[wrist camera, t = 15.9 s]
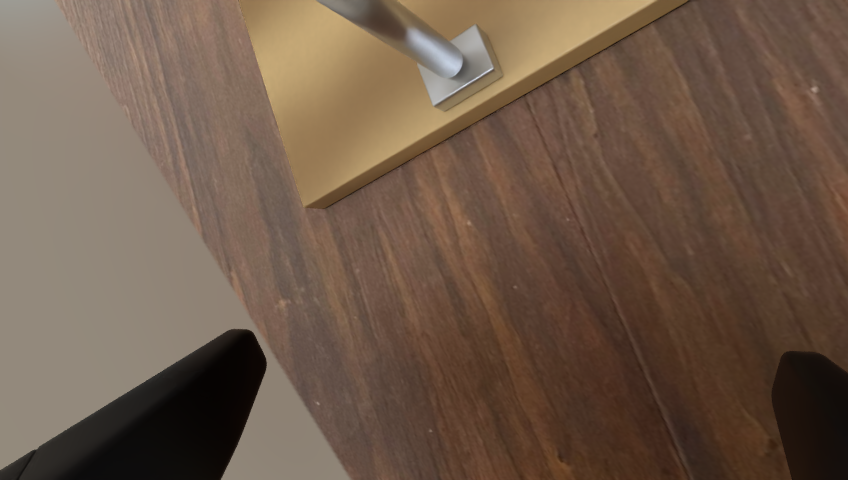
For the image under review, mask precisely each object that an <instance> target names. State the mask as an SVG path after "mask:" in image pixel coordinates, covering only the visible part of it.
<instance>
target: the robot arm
mask: <svg viewBox="0 0 848 480" xmlns="http://www.w3.org/2000/svg"><path fill="white" fill-rule="evenodd" d="M266 366H267V362H266V358H265V355H264V353H263V351H262V349H261V347H260V345H259V343H258V341H257V339H256V337H255V335H254V333H253V332H252V331H250V330H247V329H231V330H229V331H227V332H225V333H223V334H222V335H220V336H219V337H217V338H216V339H214V340H212V341H210V342H209V343H207V344H206V345H204V346H202V347H201V348H199V349H197V350H196V351H194V352H193V353H191V354H189V355H188V356H186V357H185V358H183V359H181V360H180V361H178V362H176V363H175V364H173V365H171V366H170V367H168V368H167V369H165V370H163V371H162V372H160V373H158V374H157V375H155V376H153V377H152V378H150V379H148V380H147V381H145V382H144V383H142V384H140V385H139V386H137V387H135V388H134V389H132V390H131V391H129V392H127V393H126V394H124V395H122V396H121V397H119V398H118V399H116V400H114V401H113V402H111V403H109V404H108V405H106V406H104V407H103V408H101V409H100V410H98V411H96V412H95V413H93V414H91V415H90V416H88V417H87V418H85V419H84V420H82V421H80V422H79V423H77V424H75V425H73V426H72V427H70V428H69V429H67V430H65V431H64V432H62V433H61V434H59V435H57V436H56V437H54V438H52V439H51V440H49V441H47V442H46V443H44V444H43V445H41V446H39V448H38V449H37V450H33V451H31V452H29V453H28V454H26V455H24V456H23V457H21V458H20V459H18V460H16V461H15V462H13V463H11V464H10V465H8V466H6V467H5V468H3V469H2V470H0V480H221V478H222V476H223V474H224V472H225V470H226V467H227V466H228V464H229V462H230V460H231V457H232V455H233V453H234V451H235V449H236V447H237V445H238V442H239V440H240V437H241V435H242V432H243V430H244V427H245V425H246V422H247V419H248V417H249V414H250V411H251V409H252V406H253V403H254V401H255V398H256V395H257V393H258V390H259V387H260V385H261V382H262V379H263V377H264V374H265V371H266ZM772 404H773V409H774V412H775V416H776V420H777V424H778V428H779V432H780V435H781V439H782V443H783V447H784V451H785V455H786V458H787V462H788V466H789V470H790V474H791V477H792V480H848V373H847V372H846V371H844V370H843V369H842V368H840V367H839V366H838V365H836V364H835V363H834V362H832V361H831V360H829V359H828V358H827V357H825V356H824V355H822V354H820V353H816V352H800V351H788V352H785V353H784V354H783V355H782V357H781V359H780V363H779V366H778V370H777V373H776V377H775V381H774V384H773V388H772Z"/></svg>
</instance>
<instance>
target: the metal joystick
mask: <svg viewBox="0 0 848 480" xmlns="http://www.w3.org/2000/svg"><path fill="white" fill-rule="evenodd" d="M316 1H317V2H319V3H321V4H322V5H324V6H326V7H327V8H329V9H331V10H332V11H334V12H335V13H337V14H339V15H340V16H342V17H344V18H345V19H347V20H348V21H350V22H352V23H353V24H355V25H357V26H358V27H360V28H361V29H363V30H365V31H366V32H368V33H370V34H371V35H373V36H374V37H376V38H378V39H379V40H381V41H383V42H384V43H386V44H387V45H389V46H391V47H392V48H394V49H396V50H397V51H399V52H400V53H402V54H404V55H405V56H407V57H409V58H410V59H412V60H414V61H415V62H417V66H418V68H419V71H420V74H421V76H422V79H423V82H424V84H425V87H426V89H427V92H428V95H429V97H430V100H431V103H432V105H433V107H435V108H437V109H439V110H441V111H446V110H448V109H450V108H451V107H453V106H455V105H456V104H458V103H460V102H461V101H463V100H465V99H466V98H468V97H470V96H471V95H473V94H475V93H476V92H478V91H480V90H481V89H483V88H484V87H486V86H488V85H489V84H491V83H493V82H494V81H496V80H498V79H499V78H501V77H502V76H503V73H502V71H501V68H500V66H499V63H498V61H497V58H496V56H495V54H494V51H493V49H492V46H491V44H490V42H489V39H488V37H487V34H486V33H485V32H484V31H483V30H482V29H481V28H480V27H479V26H478V25H477V24H474V25H473V26H471V27H470V28H468V29H467V30H465V31H464V32H462V33H461V34H459V35H458V36H456V37H455V38H453V39H452V40H450V41H448V40H447V39H446V38H445V37H443V36H442V35H441V34H439V33H438V32H437V31H436V30H434V29H433V28H432V27H430V26H429V25H428V24H427V23H425V22H424V21H423V20H422V19H420V18H419V17H418V16H416V15H415V14H414V13H413V12H411V11H410V10H409V9H407V8H406V7H405V6H404V5H402V4H401V3H400V2H399V1H397V0H316Z"/></svg>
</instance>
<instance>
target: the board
mask: <svg viewBox="0 0 848 480" xmlns="http://www.w3.org/2000/svg"><path fill="white" fill-rule="evenodd" d="M238 1H239V4H240V8H241V11H242V14H243V17H244V20H245V23H246V27H247V30H248V33H249V36H250V39H251V43H252V46H253V49H254V52H255V55H256V58H257V62H258V65H259V68H260V71H261V74H262V78H263V81H264V84H265V87H266V90H267V93H268V97H269V100H270V103H271V106H272V109H273V113H274V116H275V119H276V122H277V125H278V128H279V132H280V135H281V138H282V141H283V144H284V147H285V151H286V154H287V157H288V160H289V163H290V167H291V170H292V173H293V176H294V179H295V182H296V186H297V189H298V192H299V195H300V198H301V202H302V205H303V207H304V208H317V209H324V208H326V207H328V206H329V205H331V204H333V203H335V202H336V201H338V200H340V199H342V198H343V197H345V196H347V195H349V194H350V193H352V192H354V191H356V190H357V189H359V188H361V187H363V186H364V185H366V184H368V183H370V182H371V181H373V180H375V179H377V178H379V177H380V176H382V175H384V174H386V173H387V172H389V171H391V170H393V169H394V168H396V167H398V166H400V165H401V164H403V163H405V162H407V161H408V160H410V159H412V158H414V157H415V156H417V155H419V154H421V153H422V152H424V151H426V150H428V149H429V148H431V147H433V146H435V145H436V144H438V143H440V142H442V141H443V140H445V139H447V138H449V137H450V136H452V135H454V134H456V133H457V132H459V131H461V130H463V129H464V128H466V127H468V126H470V125H471V124H473V123H475V122H477V121H479V120H480V119H482V118H484V117H486V116H487V115H489V114H491V113H493V112H494V111H496V110H498V109H500V108H501V107H503V106H505V105H507V104H508V103H510V102H512V101H514V100H515V99H517V98H519V97H521V96H522V95H524V94H526V93H528V92H529V91H531V90H533V89H535V88H536V87H538V86H540V85H542V84H543V83H545V82H547V81H549V80H550V79H552V78H554V77H556V76H557V75H559V74H561V73H563V72H564V71H566V70H568V69H570V68H571V67H573V66H575V65H577V64H579V63H580V62H582V61H584V60H586V59H587V58H589V57H591V56H593V55H594V54H596V53H598V52H600V51H601V50H603V49H605V48H607V47H608V46H610V45H612V44H614V43H615V42H617V41H619V40H621V39H622V38H624V37H626V36H628V35H629V34H631V33H633V32H635V31H636V30H638V29H640V28H642V27H643V26H645V25H647V24H649V23H650V22H652V21H654V20H656V19H657V18H659V17H661V16H663V15H664V14H666V13H668V12H670V11H671V10H673V9H675V8H677V7H679V6H680V5H682V4H684V3H686V2H687V1H689V0H397V1H399V2H400V3H401V4H402V5H404V6H405V7H406V8H407V9H409V10H410V11H411V12H413V13H414V14H415V15H416V16H418V17H419V18H420V19H422V20H423V21H424V22H425V23H427V24H428V25H429V26H430V27H432V28H433V29H434V30H436V31H437V32H438V33H439V34H441V35H442V36H443V37H445V38H446V39H447V40H448V41H450V40H452V39H453V38H455V37H456V36H458V35H459V34H461V33H462V32H464V31H465V30H467V29H468V28H470V27H471V26H473V25H474V24H477V25H478V26H479V27H480V28H481V29H482V30H483V31H484V32H485V33H486V34H487V37H488V39H489V42H490V44H491V46H492V49H493V51H494V54H495V56H496V58H497V61H498V63H499V66H500V68H501V71H502V73H503V76H502V77H501V78H499V79H498V80H496V81H494V82H493V83H491V84H489V85H488V86H486V87H484V88H483V89H481V90H480V91H478V92H476V93H475V94H473V95H471V96H470V97H468V98H466V99H465V100H463V101H461V102H460V103H458V104H456V105H455V106H453V107H451V108H450V109H448V110H446V111H441V110H439V109H437V108H435V107H433V105H432V103H431V100H430V97H429V95H428V92H427V89H426V87H425V84H424V82H423V79H422V76H421V74H420V71H419V68H418V66H417V62H415V61H414V60H412V59H410V58H409V57H407V56H405V55H404V54H402V53H400V52H399V51H397V50H396V49H394V48H392V47H391V46H389V45H387V44H386V43H384V42H383V41H381V40H379V39H378V38H376V37H374V36H373V35H371V34H370V33H368V32H366V31H365V30H363V29H361V28H360V27H358V26H357V25H355V24H353V23H352V22H350V21H348V20H347V19H345V18H344V17H342V16H340V15H339V14H337V13H335V12H334V11H332V10H331V9H329V8H327V7H326V6H324V5H322V4H321V3H319V2H317V1H316V0H238Z"/></svg>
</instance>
